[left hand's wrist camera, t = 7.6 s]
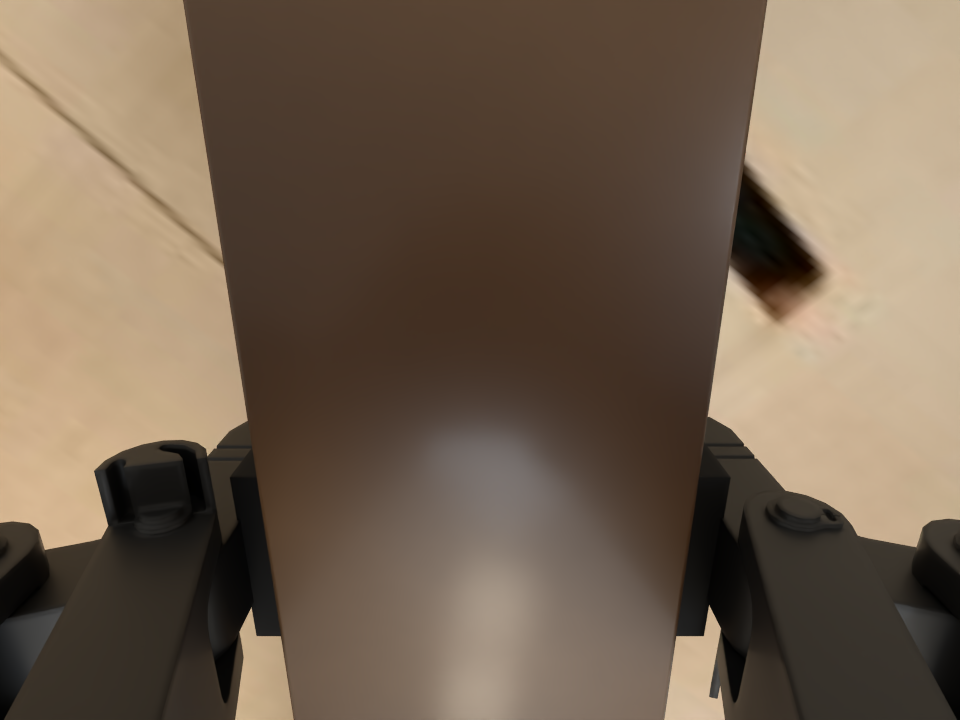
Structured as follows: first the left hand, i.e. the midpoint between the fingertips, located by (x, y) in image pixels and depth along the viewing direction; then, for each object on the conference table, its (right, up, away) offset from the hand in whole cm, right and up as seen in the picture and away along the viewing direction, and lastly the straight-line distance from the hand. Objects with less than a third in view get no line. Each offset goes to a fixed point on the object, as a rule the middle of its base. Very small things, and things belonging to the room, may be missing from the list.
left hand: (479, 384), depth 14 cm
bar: (0, -27, +11) cm, 29 cm away
